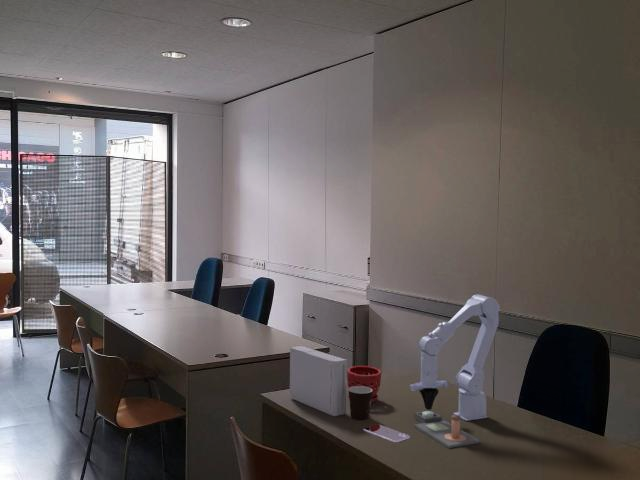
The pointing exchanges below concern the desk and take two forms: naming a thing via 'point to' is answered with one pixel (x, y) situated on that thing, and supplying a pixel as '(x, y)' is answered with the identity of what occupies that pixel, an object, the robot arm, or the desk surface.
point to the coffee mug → (360, 402)
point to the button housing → (422, 419)
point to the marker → (455, 427)
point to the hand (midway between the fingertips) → (428, 408)
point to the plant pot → (365, 379)
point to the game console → (318, 380)
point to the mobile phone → (386, 433)
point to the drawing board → (446, 434)
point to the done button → (427, 414)
